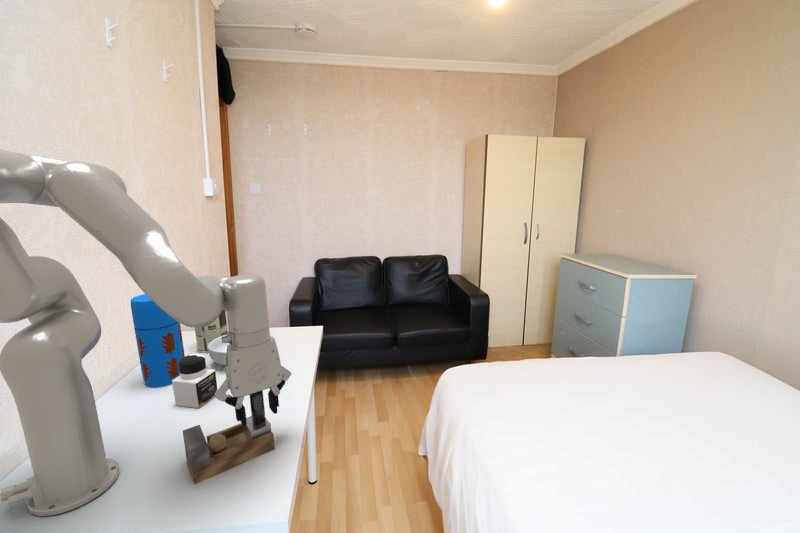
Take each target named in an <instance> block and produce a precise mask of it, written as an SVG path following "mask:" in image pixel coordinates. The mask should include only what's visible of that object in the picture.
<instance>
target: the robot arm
mask: <svg viewBox="0 0 800 533" xmlns="http://www.w3.org/2000/svg"><path fill="white" fill-rule="evenodd" d="M0 204H26V205H27V204H29V205H39V206H46V207H54V208H60V209H61V211H62V212H64V213H65V214H66V215H67V216H68V217H70V218H71V219H72V220H73V221H75V222H76V223H77V224H78V225H79V226H81V228H83V229H84V230H85V231H86V232H88V234H89V235H90V236H92V237H93V238H94V239H95V240H97V242H99V243H100V244H102V246H103V247H104V248H106V249H107V250H108V251H110V253H111V254H113V255H114V257H116V258H117V259H118V260H119V262H120V264H121V265H122V267H123V268H124V270H125V271H126V272H127V273H128V275H129V276H130V277H131V278H132V280H133V281H134V283H136V286H137V287H138V288H139V289H140V290H141V291H142V292H143V294H146V295H147V296H148V297H149V298H150V299H151V300H152V301H153V302H154V303H155V304H157V305H158V306H159V307H160V308H161V309H163V310H164V311H165V312H166V313H167V314H169V315H170V316H171V317H172V318H173V319H175V320H176V321H178V322H179V323H180V325H181V324H182V325H184V326H186V327H189V328H193V329H195V328H201V327H205V326H208V325H210V324H211V323H213V322H214V321H215V320H216V319H217V318H218V317H219V315H220V313H221V311H222V310H225V313H226V320H227V328H228V329H227V330H228V333H227V335H226V336H223V337H222V343H229V345H228V346H227V353H226V365H225V376H226V377H225V379H224V381H223V382H222V384H221V385H220V386H219V388H217V389H218V390H217V392H216V393H215V396H214V397H215V399H216V400H217V401H218V400H219V401H221V402H223V403H225V404H227V405H229V406H231V407H234V411H235V419H236V421H237V422H240V424H241V423H242V425H243V426H244V425H246V424H247V421H246V418H247V413H246V407H245V406H244V404H243V402H244V400H245V397H247V396H250V394H253V393H256V392H259V391H262V390H263V391H265V390H268V389H269V390H268V393H267V397H268V398H267V399H268V407H269V409H270V411H271V412H272V414H275V415H276V414H278V407H280V403H279V402H280V401H279V395H280V394H281V390H282V389H283V388H284V386H285V385H286V382H287V381H288V380H289V379H290V377H291V376H292V372H291V371H290V369H287V368H286V367H285V366H283V365H282V364H281V358H280V353H279V349H278V345H277V342H276V339H275V337H273V336H272V335H271V331H270V322H269V313H268V312H269V311H268V301H267V300H268V299H267V290H266V288H267V287H266V282H265V279H264V278H263V276H261V275H260V274H259V275H258V274H255V273H254V274H252V273H251V274H246V273H245V274H239V275H238V274H237V275H234V276H212V275H211V276H209V275H205V276H202V275H201V276H198V277H197V276H196V275H194V273H193V272H192V271H191V270H189V269H188V268H187V267H186V266H185V264H183V262H182V261H181V260H180V259H179V258H178V256H177V254H176V253H175V252H174V250H173V248H172V247H171V244H170V242H169V240H168V239H169V238H168V236H167V233H166V231H165V230H164V229H163V227H162V226H161V225H160V224H159V222H157V221H156V219H154V218H153V217H152V216H151V215H150V214H149V213H148V212H147V211H145V210H144V209H143V208H142V206H140V205H139V204H138V203H137V202H136V201H135V200H134V199H133V198H132V197H131V196H130V195H129V194H128V190H127V187H126V184H125V182H124V180H123V179H122V178H121V177H120V175H119V174H117V173H116V172H115V171H114V170H111V168H108V167H106V166H104V165H99V164H94V163H90V162H85V161H76V160H75V161H68V160H66V161H65V160H60V159H55V158H50V157H49V158H48V157H42V156H36V155H32V154H31V155H30V154H26V153H20V152H14V151H9V150H4V149H0ZM26 319H28V321H29V323H30V324H29V325H28V326H27V327H24V328H23V329H21V330H20V331H18V332H17V333H15V334H13V336H12V337H11V338H9V339H8V340H7V342H5V344H4V345H3V347H2V349H1V350H0V373H1V376H2V377H3V380H4V382H5V384H7V387H8V388H9V390H10V392H11V395H12V397H13V399H14V402H15V403H14V404H15V405H16V409H17V412H18V417H19V420H20V425H21V428H22V432H23V436H24V440H25V443H26V448H27V453H28V456H29V461H30V464H31V468H32V473H33V476H32V477H29V478H26V481H24V482H21V483H18V484H14V485H12V486H8V487H6V488H5V487H4V488H2V489H1V490H0V501H1V502H5V501H7V505H8V506H13V505H15V504H17V503H20V502H22V501H25V500H27V501H26V505H27V508H28V511H29V513H31V514H32V515H35V516H42V517H46V516H54V515H59V514H64V513H65V512H69V511H72V510H74V509H77V508H80V507H81V506H84V505H86V504H87V503H89V502H91V501H92V500H94V499H96V498H97V497H99V496H100V495H102V494H103V493H104V492H105V491H107V490H108V489H109V488H110V487H111V486H112V485H113V484H114V483H115V481H116V480H117V478H118V477H119V474H120V467H119V466H120V465H119V463H118V461H116V459H115V460H114V459H113V458H107V455H106V451H105V446H104V440H103V434H102V430H101V425H100V421H99V415H98V410H97V409H98V408H97V405H96V400H95V396H94V391H93V386H92V384H91V381H90V379H89V377H88V376H87V373H86V372H85V369H84V368H83V364H82V361H83V359H84V358H85V357H86V355H88V354H89V353H90V352H91V351H92V350H93V349H94V348H95V347H96V345H97V344H98V343H99V341H100V339H101V337H102V326H101V322H100V319H99V317H98V316H97V314H96V312H95V310H94V308H93V306H92V305H91V303H90V301H89V299H88V297H87V296H86V294H85V293H84V291H83V289H82V287H81V285H80V283H79V281H78V280H77V279H76V277H75V275H74V274H73V273H72V271H71V270H70V269H69V268H68V267H66V265H64V264H63V263H61V262H59V261H58V260H56V259H54V258H50V257H47V256H42V255H41V256H40V255H34V256H33V255H31V256H30V255H29V254H28V253H27V251H26V250H25V248H24V246H23V245H22V243H21V241H20V239H19V238H18V234H16V233H15V231H14V230H13V229H12V228H11V226H10V225H9V224H8V223H7V222H6V221H5V220H4V219H3V218H2V217H0V324H9V323H17V322H20V321H23V320H26ZM228 390H229V391H230V393H231V395H230V394H226V393H227V392H228Z"/></svg>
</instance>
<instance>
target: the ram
mask: <svg viewBox="0 0 800 533" xmlns="http://www.w3.org/2000/svg"><path fill="white" fill-rule="evenodd" d="M249 401H250V402H249V403H250V404H249V405H250V411H251V412H250V413H251V414H250V416H248V417H247V416H246V421H247V424H246V425H244V431H245V433H246V435H247V437H248V438H249V440H253V439H255V438H258V437H260V436H263V435H265V434H267V433H270V432H272V426H271V425H272V424H271V423H270V421H269V420H268V418H267V417H266V411H265V401H264V390H262V391H259V392H256V393H253V394H250V395H249Z"/></svg>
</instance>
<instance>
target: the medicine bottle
mask: <svg viewBox="0 0 800 533" xmlns="http://www.w3.org/2000/svg"><path fill="white" fill-rule="evenodd" d="M178 364H179V371H180V376H178V377H177V378H175V379H174V380H172V384H171V385H172V389H173V396H174V402H175V406H178V407H187V408H194V409H200V408H202V407H203V406H204V405H205V404H207V403H208V402H209V401H210V400H212V399H213V398H214V397H215V393H216V392H217V390H218V389H219V388H218V383H217V375H216V370H215V369H210V368H207V360H206V356H205V355H204V354H203V353H202V354H201V353H191V354H188V355H186V356H185V357H183V358H182V359H180V360H179V362H178Z"/></svg>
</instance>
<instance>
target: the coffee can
mask: <svg viewBox="0 0 800 533" xmlns="http://www.w3.org/2000/svg"><path fill="white" fill-rule="evenodd" d="M228 330H229V329H228V321H227V313H226V311H225V310H222V311H221V313H220V315H219V317H218V318H217V319H216V320H215V321H214V322H213V323H211V324H210V325H208V326H205V327H201V328H194V332H195V339H196V340H195V341H196V346H197V352H198V353H200V354H201V353H202V354H209V352H208V344H209V343H210V342H211V341H213V340H214V339H216V338H218V337H221V336H224V335H227V333H228Z"/></svg>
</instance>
